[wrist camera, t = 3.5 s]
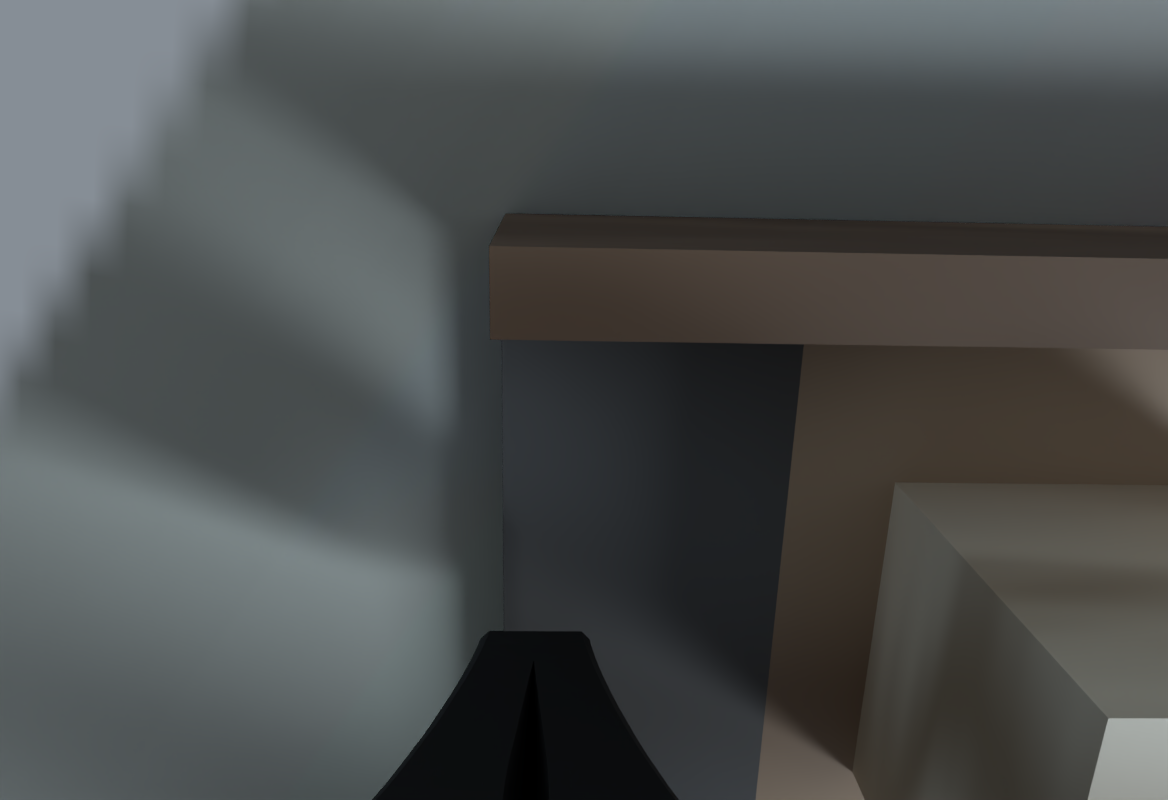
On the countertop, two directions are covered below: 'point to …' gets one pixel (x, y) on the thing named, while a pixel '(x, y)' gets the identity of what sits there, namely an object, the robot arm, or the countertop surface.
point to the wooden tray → (789, 445)
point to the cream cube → (1019, 645)
